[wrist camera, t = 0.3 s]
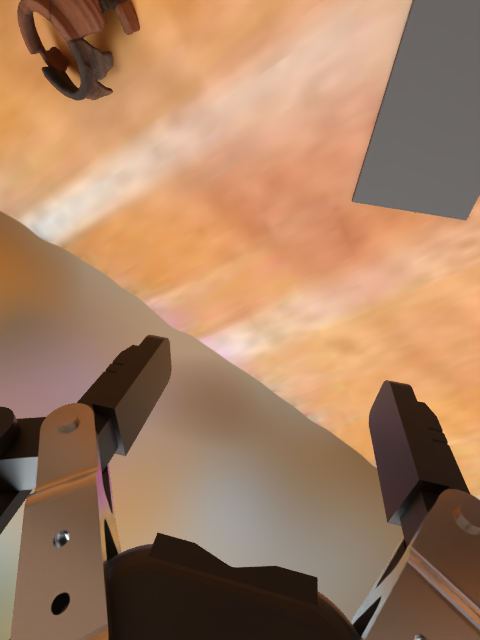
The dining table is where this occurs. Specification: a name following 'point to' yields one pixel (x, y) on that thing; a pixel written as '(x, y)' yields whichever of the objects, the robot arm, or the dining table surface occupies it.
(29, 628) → the robot arm
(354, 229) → the dining table surface
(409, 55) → the grey flat panel
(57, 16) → the dark brown ceramic piece
